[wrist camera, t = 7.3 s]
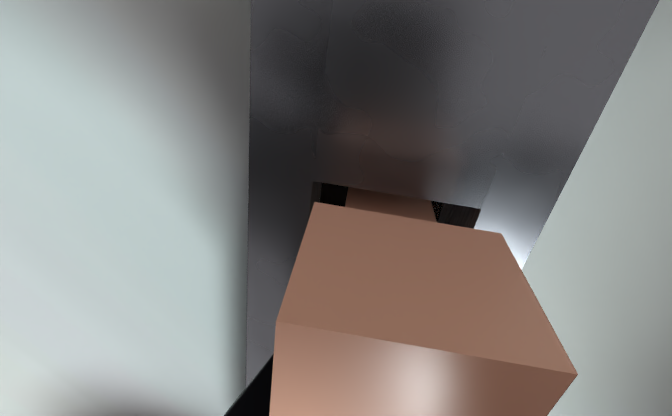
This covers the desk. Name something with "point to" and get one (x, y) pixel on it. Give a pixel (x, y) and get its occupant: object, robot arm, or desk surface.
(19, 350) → the desk surface
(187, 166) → the desk surface
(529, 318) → the peach rectangular block
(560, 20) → the rail
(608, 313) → the desk surface
